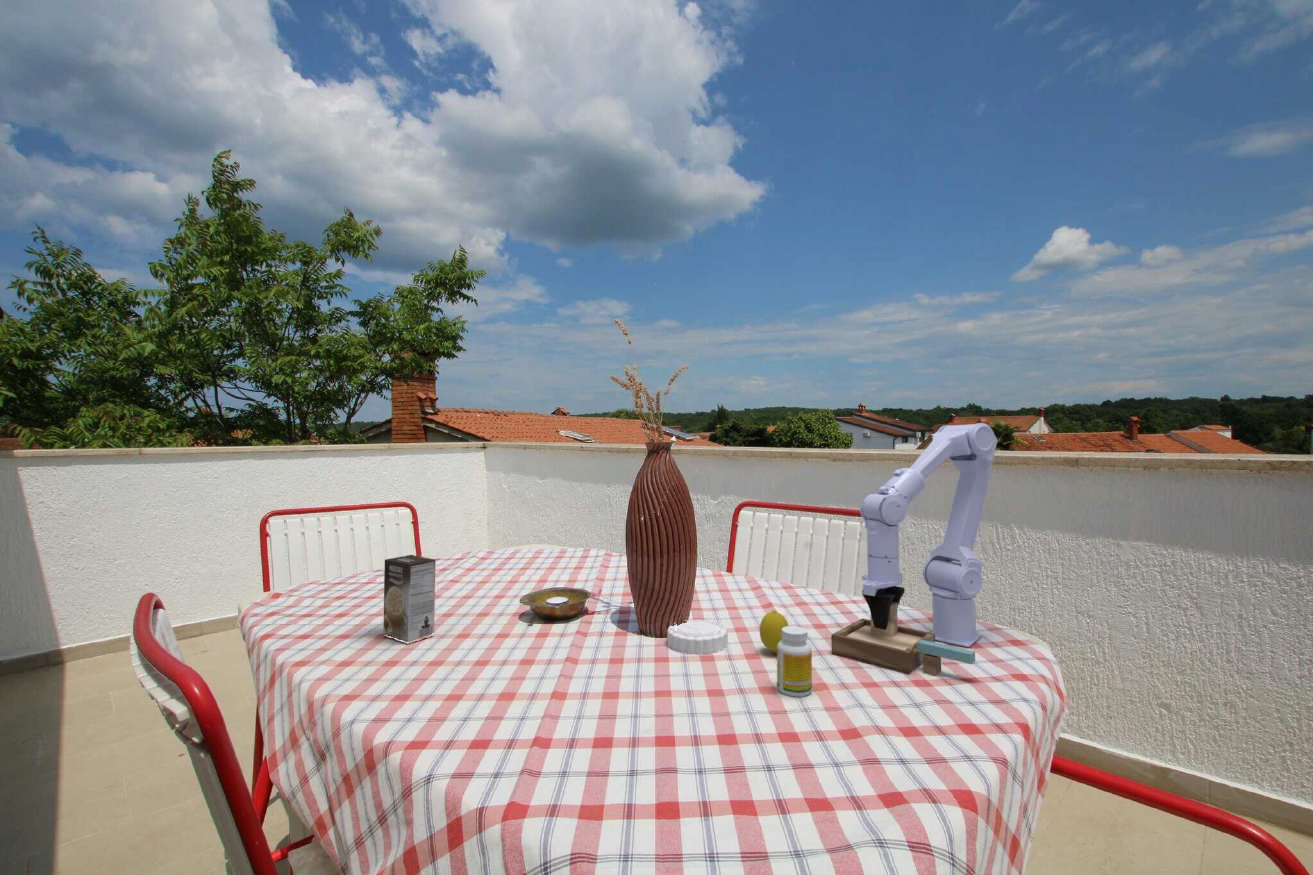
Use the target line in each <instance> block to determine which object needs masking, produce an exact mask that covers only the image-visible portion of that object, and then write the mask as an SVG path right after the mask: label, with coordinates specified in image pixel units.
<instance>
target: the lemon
mask: <svg viewBox="0 0 1313 875" xmlns="http://www.w3.org/2000/svg"><path fill="white" fill-rule="evenodd" d="M786 626H790V625H789V622H788V621H787V619H786V617H785V616H784V615H783V614H781V613H780V612H777V610H772V611H770V612H767V614H765V615H764V616H763V617H762V619H761V621H760V625H759V638H760V640H761V643H762V644H763V646H764V647H765V648H766V649H768V650H770V651H771V653H773V654H777V645H778V643H779V642H780V641H781V640H783V639H782V636H781V635H782V628H783V627H786Z"/></svg>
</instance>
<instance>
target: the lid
mask: <svg viewBox="0 0 1313 875" xmlns="http://www.w3.org/2000/svg"><path fill="white" fill-rule="evenodd" d="M870 620H871V626H868V625H865V626H864V627H862V628H860V629H858V630H856V631H854V632H853V633H851V634H849V635H847V637H851V638H855V639H860V640H864V641H868V642H872V643H876V644H880V645H885V646H889V647H893V648H897V649H901V650H906V649H907V648H910V649H914V643H916V642H917V641H918V640H920V639H921V638H923V637H918V636H914V635H909V634H905V633H900V632H898V626H899V625H898V608H897V603H896V602H892V603H891V606H890V610H889V618H888V625H887V629H886V630H883V629H879V628H875V627H874V624H873V620H872V616H871V615H870Z"/></svg>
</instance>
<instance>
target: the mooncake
mask: <svg viewBox="0 0 1313 875" xmlns="http://www.w3.org/2000/svg"><path fill="white" fill-rule="evenodd" d="M686 621H687V622H686V623H682V624H680V625H678V626H677V624H676V625H674V626H671V625H669V626H668V627H667V628H668V629H667V631H666V638H667V639H666V641H667V642H666V643H667V645H668V648H671V649H672V650H673V651H677V652H678V653H682V654H683V653H684V654H687V655H696V656H699V655H700V654H701V655H711V654H717V653H719V652H722V650H723V651H724V650H725V649H726V648H725V647H727V648H728V639H729V638H728V629H727V628H726V627H725V626H724V625H721V623H718V622H714V621H710V620H708V619H707V620H706V619H692V620H691V619H690V620H686ZM701 655H700V656H701Z"/></svg>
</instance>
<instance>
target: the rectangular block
mask: <svg viewBox="0 0 1313 875" xmlns="http://www.w3.org/2000/svg"><path fill="white" fill-rule="evenodd" d="M917 652H921V653H925V654H930V655H934V656H938V657H941V659H942V658H943V659H946V660H947V659H948V660H951V661H956V662H958V663H959V662H960V663H963V664H969V665H973V664H974V663H975V662H976V651H974V650H970V649H965V648H961V647H956V646H953V645H948V644H943V643H939V642H936V641H935V642H930V641H926V640H920V641H918V642H917Z"/></svg>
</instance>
